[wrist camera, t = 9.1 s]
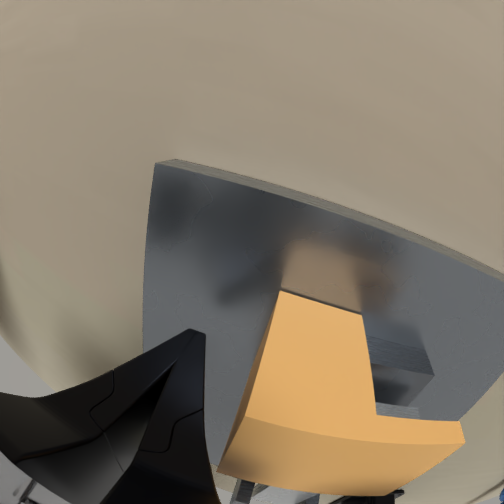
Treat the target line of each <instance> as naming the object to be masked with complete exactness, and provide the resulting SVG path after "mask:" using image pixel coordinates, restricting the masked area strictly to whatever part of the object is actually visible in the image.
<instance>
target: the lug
mask: <svg viewBox="0 0 504 504" xmlns="http://www.w3.org/2000/svg"><path fill="white" fill-rule="evenodd" d="M463 444H465V440H464V436H463V432H462V428H461V425H460V421H434V420H419V419H407V418H398V417H389V416H381V415H377V414H376V405H375V396H374V387H373V380H372V372H371V366H370V359H369V353H368V347H367V341H366V335H365V330H364V324H363V319H362V315H359V314H355V313H352V312H348V311H345V310H342V309H338V308H335V307H332V306H328V305H325V304H322V303H319V302H315V301H312V300H309V299H306V298H302V297H299V296H296V295H293V294H290V293H286V292H283V291H280V292H279V295H278V297H277V300H276V303H275V306H274V309H273V311H272V314H271V317H270V320H269V322H268V325H267V328H266V331H265V333H264V336H263V339H262V341H261V344H260V347H259V349H258V352H257V355H256V357H255V360H254V362H253V365H252V368H251V371H250V374H249V377H248V380H247V383H246V386H245V389H244V392H243V396H242V399H241V402H240V405H239V408H238V411H237V414H236V417H235V420H234V423H233V426H232V428H231V431H230V434H229V437H228V440H227V443H226V446H225V449H224V451H223V454H222V457H221V460H220V463H219V466H218V468H217V471H216V472H218V473H222V474H225V475H228V476H232V477H235V478H239V479H243V480H247V481H251V482H255V483H259V484H264V485H268V486H273V487H279V488H284V489H290V490H296V491H303V492H311V493H320V494H331V495H347V496H385V495H387V494H389V493H391V492H393V491H394V490H396V489H398V488H400V487H402V486H403V485H405V484H407V483H409V482H410V481H412V480H414V479H415V478H417V477H419V476H420V475H422V474H423V473H425V472H426V471H428V470H429V469H431V468H432V467H434V466H435V465H437V464H438V463H440V462H441V461H442V460H444V459H445V458H447V457H448V456H449V455H451V454H452V453H453V452H455V451H456V450H457V449H458V448H460V447H461V446H462V445H463Z"/></svg>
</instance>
